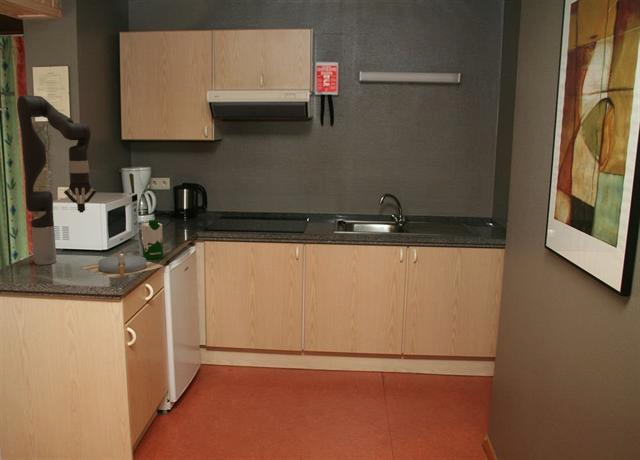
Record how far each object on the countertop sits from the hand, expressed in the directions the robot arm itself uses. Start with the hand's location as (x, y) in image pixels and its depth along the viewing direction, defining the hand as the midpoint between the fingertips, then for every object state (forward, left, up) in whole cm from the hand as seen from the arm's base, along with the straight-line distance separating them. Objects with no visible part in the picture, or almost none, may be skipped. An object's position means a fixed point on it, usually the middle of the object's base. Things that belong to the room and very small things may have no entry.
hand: (81, 212), depth 231 cm
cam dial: (+8, +13, -25) cm, 30 cm away
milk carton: (+3, +33, -27) cm, 43 cm away
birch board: (+7, +14, -27) cm, 31 cm away
